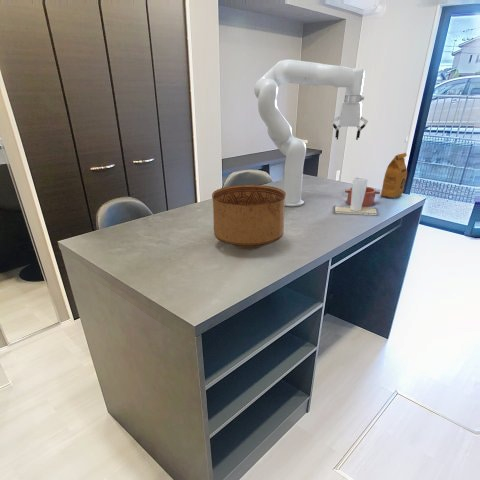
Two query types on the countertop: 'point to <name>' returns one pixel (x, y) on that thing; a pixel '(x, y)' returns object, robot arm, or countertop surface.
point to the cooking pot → (368, 196)
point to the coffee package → (395, 177)
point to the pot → (248, 215)
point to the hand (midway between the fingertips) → (346, 139)
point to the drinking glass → (358, 193)
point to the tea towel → (348, 211)
